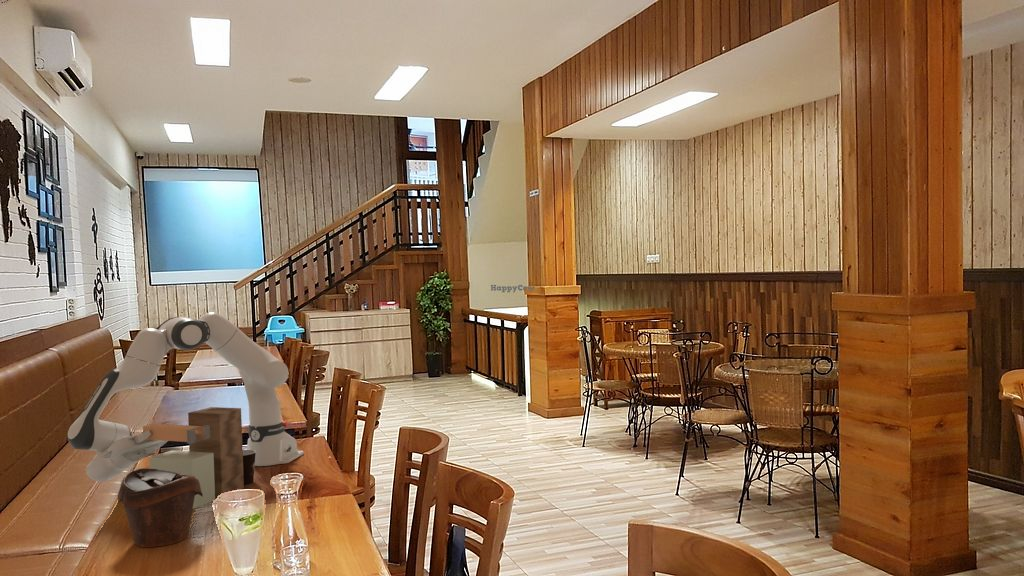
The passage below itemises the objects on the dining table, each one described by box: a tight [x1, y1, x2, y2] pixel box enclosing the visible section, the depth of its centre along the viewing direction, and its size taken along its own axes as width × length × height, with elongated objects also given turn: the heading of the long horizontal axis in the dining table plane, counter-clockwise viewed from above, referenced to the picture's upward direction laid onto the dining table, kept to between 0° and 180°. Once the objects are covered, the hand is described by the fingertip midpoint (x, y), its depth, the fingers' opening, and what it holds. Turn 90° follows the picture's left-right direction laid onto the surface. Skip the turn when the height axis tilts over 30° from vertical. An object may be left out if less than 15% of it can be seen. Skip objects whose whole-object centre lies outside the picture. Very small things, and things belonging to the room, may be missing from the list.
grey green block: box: [148, 449, 216, 510], centre depth 220 cm, size 9×16×14 cm, turn 71°
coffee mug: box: [243, 449, 256, 486], centre depth 242 cm, size 12×9×10 cm
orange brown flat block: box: [142, 423, 210, 445], centre depth 220 cm, size 8×20×4 cm, turn 71°
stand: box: [187, 406, 245, 498], centre depth 230 cm, size 10×12×26 cm
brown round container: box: [117, 467, 203, 549], centre depth 188 cm, size 18×20×18 cm
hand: (157, 430), depth 222 cm, fingers closed on orange brown flat block, 4 cm apart
